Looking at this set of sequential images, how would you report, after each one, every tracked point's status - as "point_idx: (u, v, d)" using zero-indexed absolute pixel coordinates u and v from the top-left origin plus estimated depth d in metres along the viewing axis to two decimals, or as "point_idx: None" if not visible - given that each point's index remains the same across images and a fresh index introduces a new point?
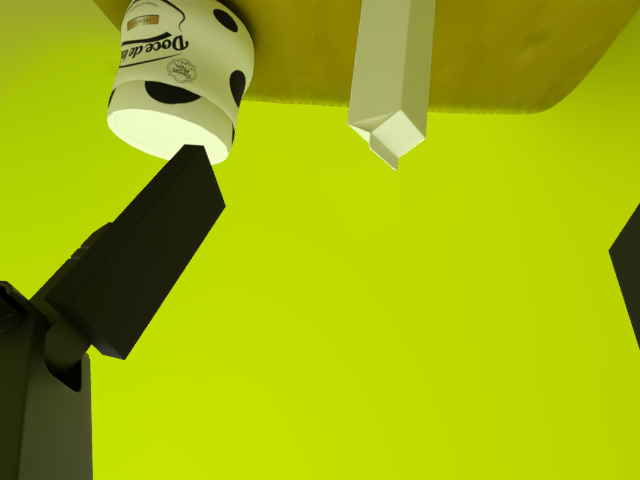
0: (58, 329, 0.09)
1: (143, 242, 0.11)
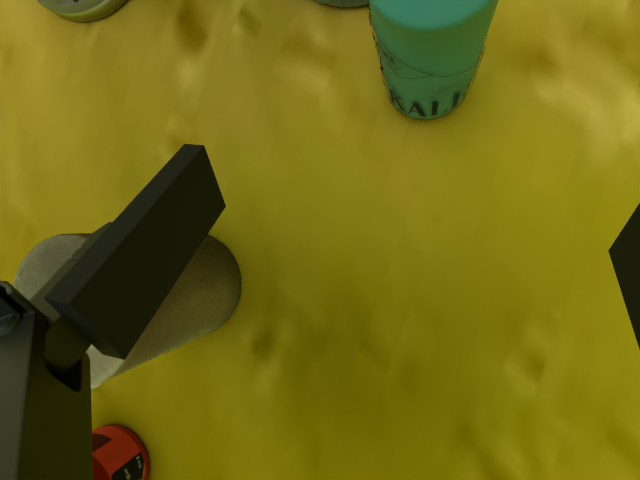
0: (58, 329, 0.09)
1: (143, 242, 0.11)
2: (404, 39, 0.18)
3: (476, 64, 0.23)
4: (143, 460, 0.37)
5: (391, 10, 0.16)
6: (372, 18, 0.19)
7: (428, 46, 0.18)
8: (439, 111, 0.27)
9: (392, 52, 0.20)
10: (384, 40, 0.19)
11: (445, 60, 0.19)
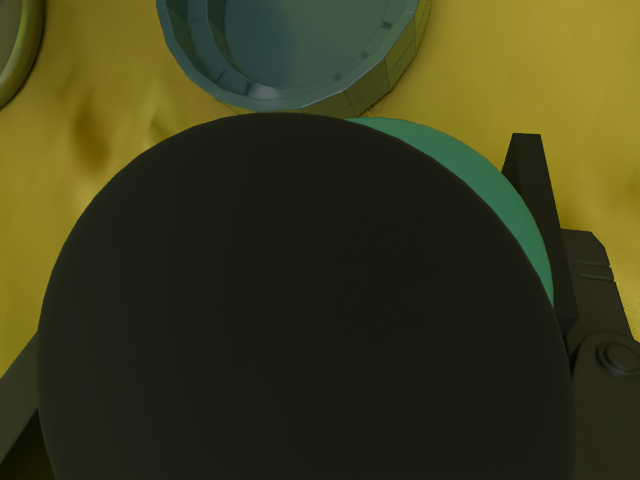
0: None
1: None
2: None
3: None
4: None
5: None
6: None
7: None
8: None
9: None
10: None
11: None
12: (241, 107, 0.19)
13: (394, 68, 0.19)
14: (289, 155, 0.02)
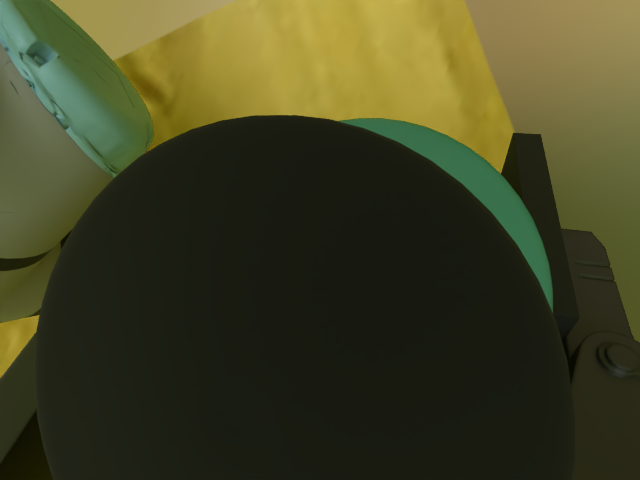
0: None
1: None
2: None
3: None
4: None
5: None
6: None
7: None
8: None
9: None
10: None
11: None
12: None
13: None
14: (289, 159, 0.02)
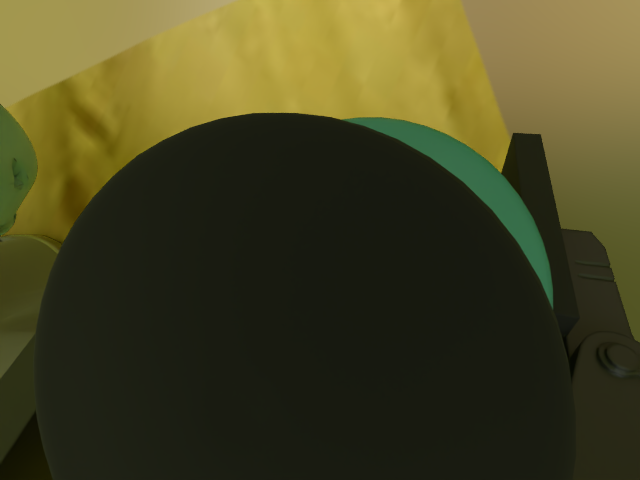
0: None
1: None
2: None
3: None
4: None
5: None
6: None
7: None
8: None
9: None
10: None
11: None
12: None
13: None
14: (288, 156, 0.02)
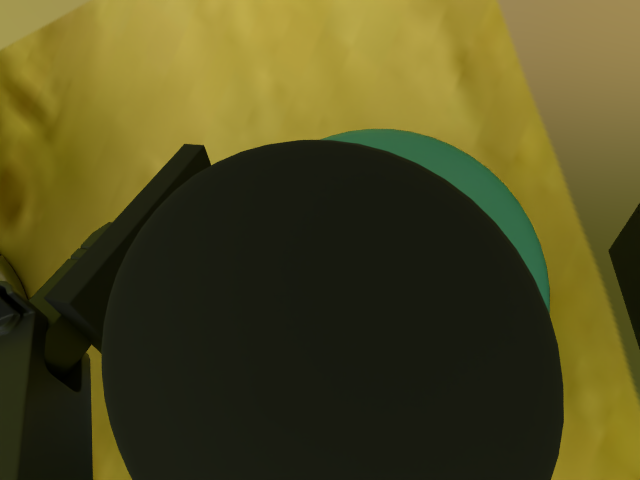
0: (58, 329, 0.09)
1: None
2: None
3: None
4: None
5: None
6: None
7: None
8: None
9: None
10: None
11: None
12: None
13: None
14: (327, 178, 0.03)
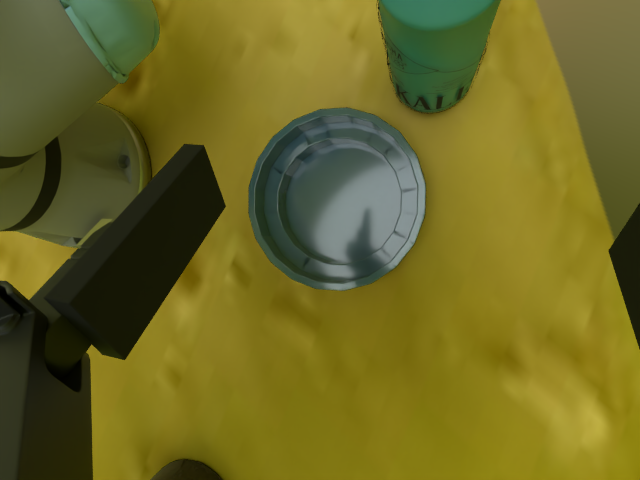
0: (58, 329, 0.09)
1: (143, 242, 0.11)
2: (412, 37, 0.19)
3: (479, 59, 0.24)
4: None
5: (400, 11, 0.17)
6: (381, 17, 0.20)
7: (434, 44, 0.19)
8: (443, 105, 0.29)
9: (399, 49, 0.21)
10: (392, 38, 0.20)
11: (450, 56, 0.20)
12: (305, 284, 0.31)
13: None
14: None
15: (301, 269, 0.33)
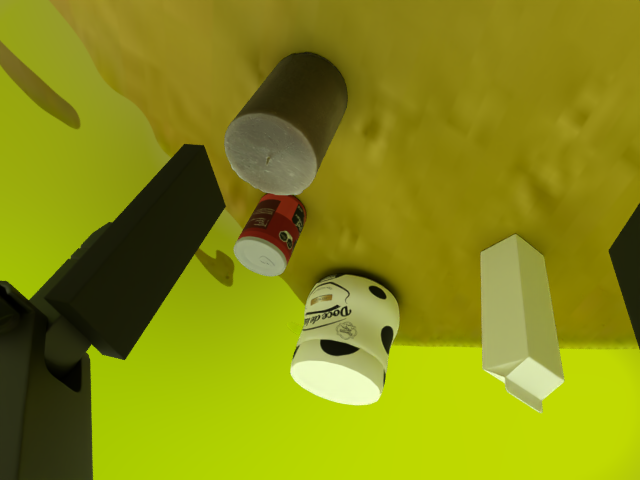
0: (58, 329, 0.09)
1: (143, 242, 0.11)
2: None
3: None
4: (302, 207, 0.59)
5: None
6: None
7: None
8: None
9: None
10: None
11: None
12: None
13: None
14: None
15: None
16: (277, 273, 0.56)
